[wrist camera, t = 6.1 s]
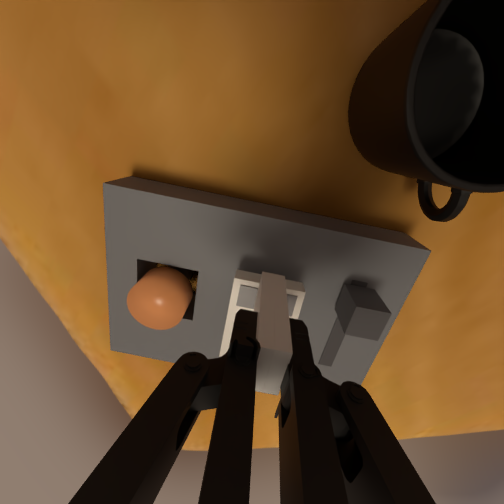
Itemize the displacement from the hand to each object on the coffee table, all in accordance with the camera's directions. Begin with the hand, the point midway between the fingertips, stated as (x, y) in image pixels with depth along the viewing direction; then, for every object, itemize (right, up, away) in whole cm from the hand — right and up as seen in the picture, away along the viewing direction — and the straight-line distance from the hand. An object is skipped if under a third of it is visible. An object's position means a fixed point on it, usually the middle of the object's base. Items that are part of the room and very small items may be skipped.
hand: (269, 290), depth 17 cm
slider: (+7, -1, +3) cm, 8 cm away
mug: (+11, +12, +2) cm, 16 cm away
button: (-8, +1, +8) cm, 11 cm away
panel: (-1, -1, +8) cm, 8 cm away
